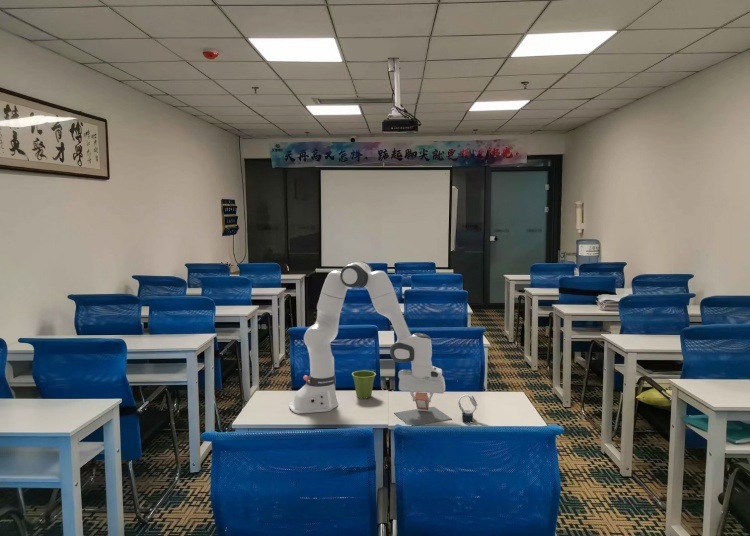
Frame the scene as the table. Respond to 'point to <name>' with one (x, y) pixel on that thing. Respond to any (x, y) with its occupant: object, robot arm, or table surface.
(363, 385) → the plant pot
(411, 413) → the mat
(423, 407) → the block
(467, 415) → the watch
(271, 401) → the table surface
